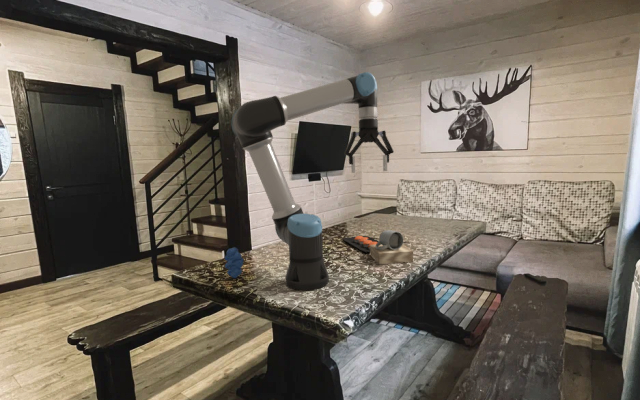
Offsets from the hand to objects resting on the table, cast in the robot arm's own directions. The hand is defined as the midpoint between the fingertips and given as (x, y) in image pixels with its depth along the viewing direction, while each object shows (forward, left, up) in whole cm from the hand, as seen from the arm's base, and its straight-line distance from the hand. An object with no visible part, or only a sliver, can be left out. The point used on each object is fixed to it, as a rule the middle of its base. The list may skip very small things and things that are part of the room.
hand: (369, 171), depth 136 cm
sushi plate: (+12, +23, -38) cm, 45 cm away
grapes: (-55, -8, -37) cm, 67 cm away
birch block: (+8, -2, -37) cm, 38 cm away
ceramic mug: (+7, -2, -32) cm, 33 cm away
